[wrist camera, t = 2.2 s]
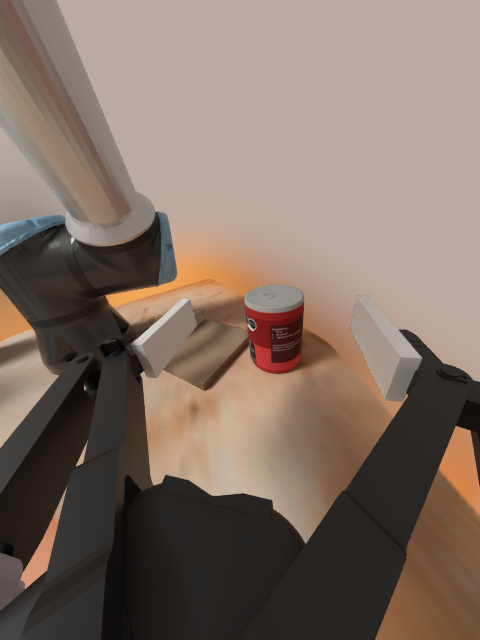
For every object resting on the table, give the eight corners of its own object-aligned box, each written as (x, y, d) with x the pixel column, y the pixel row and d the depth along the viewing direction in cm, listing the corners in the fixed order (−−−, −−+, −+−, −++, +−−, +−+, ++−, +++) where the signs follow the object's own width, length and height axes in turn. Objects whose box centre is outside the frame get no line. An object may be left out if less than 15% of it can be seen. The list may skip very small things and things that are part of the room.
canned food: (260, 339, 36) (256, 282, 30) (305, 347, 32) (309, 286, 27) (242, 367, 30) (233, 304, 25) (294, 381, 27) (297, 311, 21)
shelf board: (148, 362, 34) (141, 346, 32) (202, 322, 44) (198, 308, 42) (204, 390, 27) (198, 372, 25) (253, 336, 37) (251, 320, 35)
